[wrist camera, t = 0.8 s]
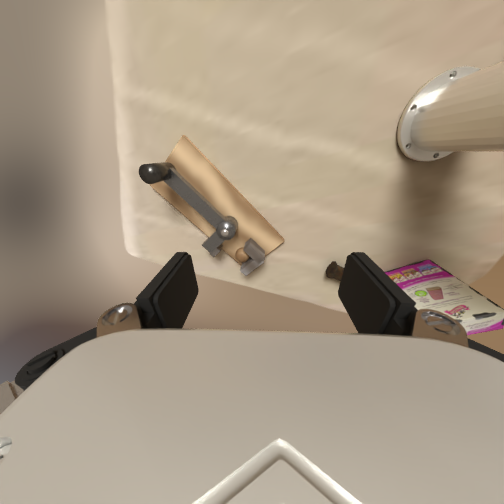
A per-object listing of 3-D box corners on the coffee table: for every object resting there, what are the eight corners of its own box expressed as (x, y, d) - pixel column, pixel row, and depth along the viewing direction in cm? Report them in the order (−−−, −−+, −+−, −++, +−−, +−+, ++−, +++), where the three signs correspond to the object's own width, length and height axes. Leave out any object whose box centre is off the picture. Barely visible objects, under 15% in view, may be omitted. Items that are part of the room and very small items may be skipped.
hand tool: (322, 269, 47) (327, 280, 43) (332, 258, 45) (339, 269, 41) (377, 297, 50) (387, 310, 46) (389, 288, 48) (400, 300, 44)
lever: (171, 156, 35) (145, 157, 28) (243, 226, 41) (237, 242, 34) (148, 191, 39) (120, 200, 32) (217, 250, 45) (206, 269, 38)
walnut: (243, 242, 44) (241, 249, 40) (253, 251, 45) (252, 259, 42) (233, 250, 45) (230, 257, 42) (243, 259, 46) (241, 267, 43)
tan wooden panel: (185, 135, 35) (172, 133, 30) (284, 238, 44) (285, 249, 39) (152, 184, 40) (137, 188, 35) (247, 267, 49) (244, 279, 44)
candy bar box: (381, 286, 48) (429, 343, 34) (379, 272, 46) (428, 326, 32) (430, 273, 45) (505, 330, 31) (430, 258, 43) (510, 311, 29)
